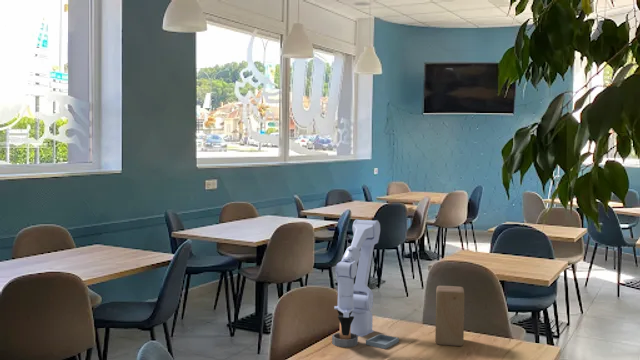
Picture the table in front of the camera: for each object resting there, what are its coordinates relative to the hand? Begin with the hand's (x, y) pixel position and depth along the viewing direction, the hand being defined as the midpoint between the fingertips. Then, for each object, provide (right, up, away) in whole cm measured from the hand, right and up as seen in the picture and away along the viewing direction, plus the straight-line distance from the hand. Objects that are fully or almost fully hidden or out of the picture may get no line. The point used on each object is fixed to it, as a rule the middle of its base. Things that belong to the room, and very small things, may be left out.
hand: (345, 332), depth 222 cm
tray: (+14, -5, 0) cm, 14 cm away
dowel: (0, -4, 0) cm, 4 cm away
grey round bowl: (0, -5, 0) cm, 5 cm away
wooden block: (+39, -5, +4) cm, 39 cm away
